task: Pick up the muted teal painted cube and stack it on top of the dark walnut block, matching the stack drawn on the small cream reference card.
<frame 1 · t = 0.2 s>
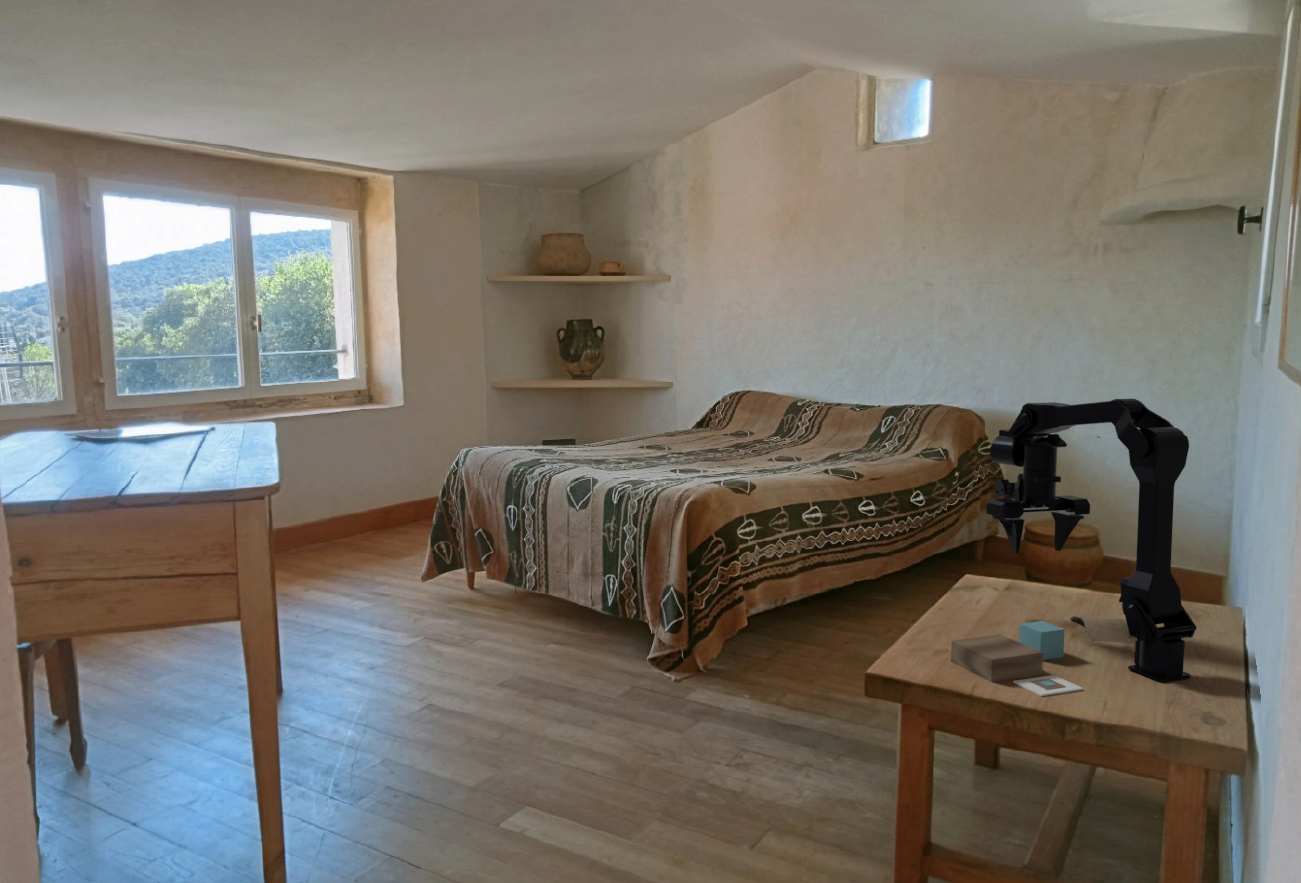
hand: (1036, 552, 172), 14 cm above the table, fingers open, 9 cm apart
reference card: (1047, 686, 143), on the table
teal cube: (1040, 654, 158), on the table
walnut block: (995, 670, 151), on the table
clay tablet: (1107, 635, 170), on the table
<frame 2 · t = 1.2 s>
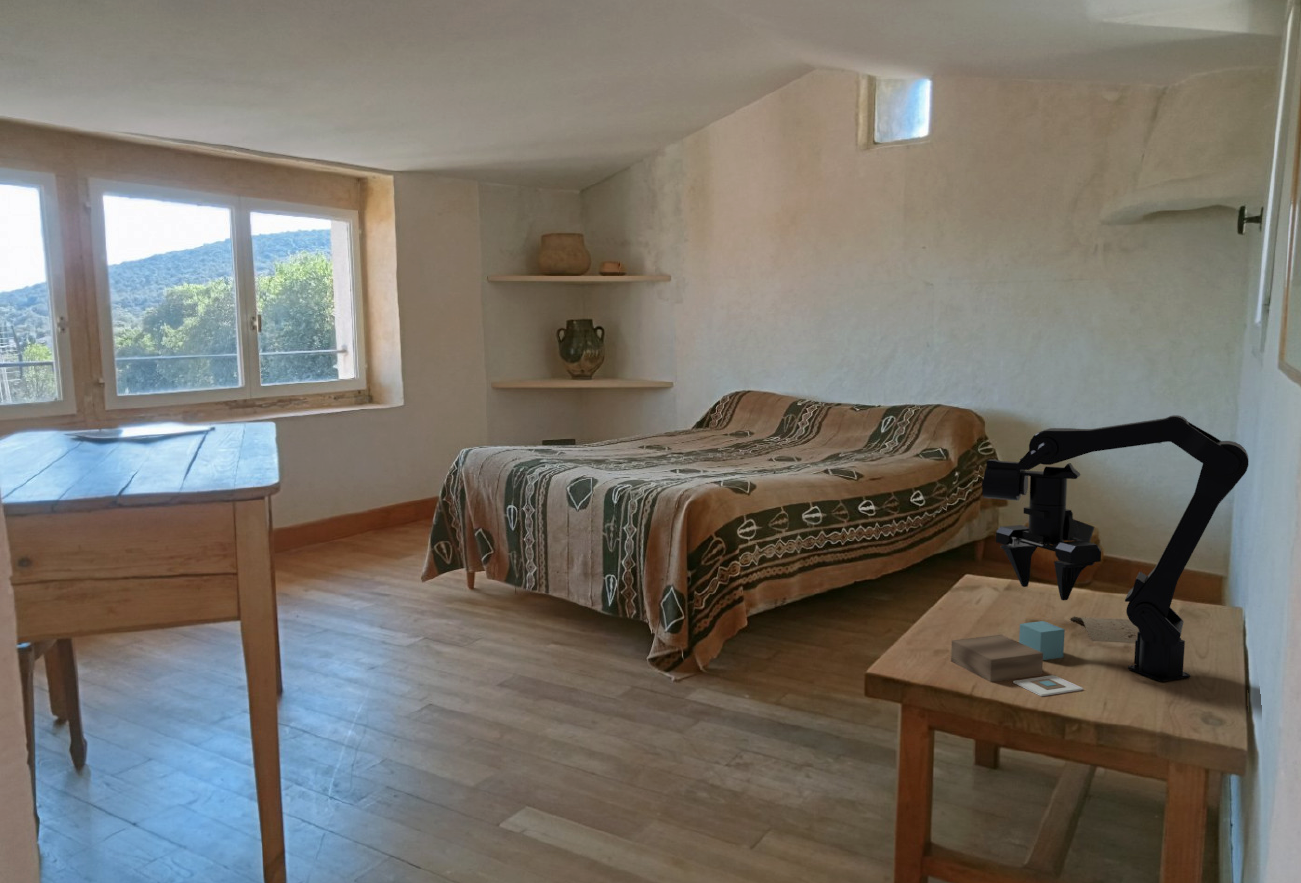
hand: (1044, 593, 156), 11 cm above the table, fingers open, 9 cm apart
nothing on the table moved.
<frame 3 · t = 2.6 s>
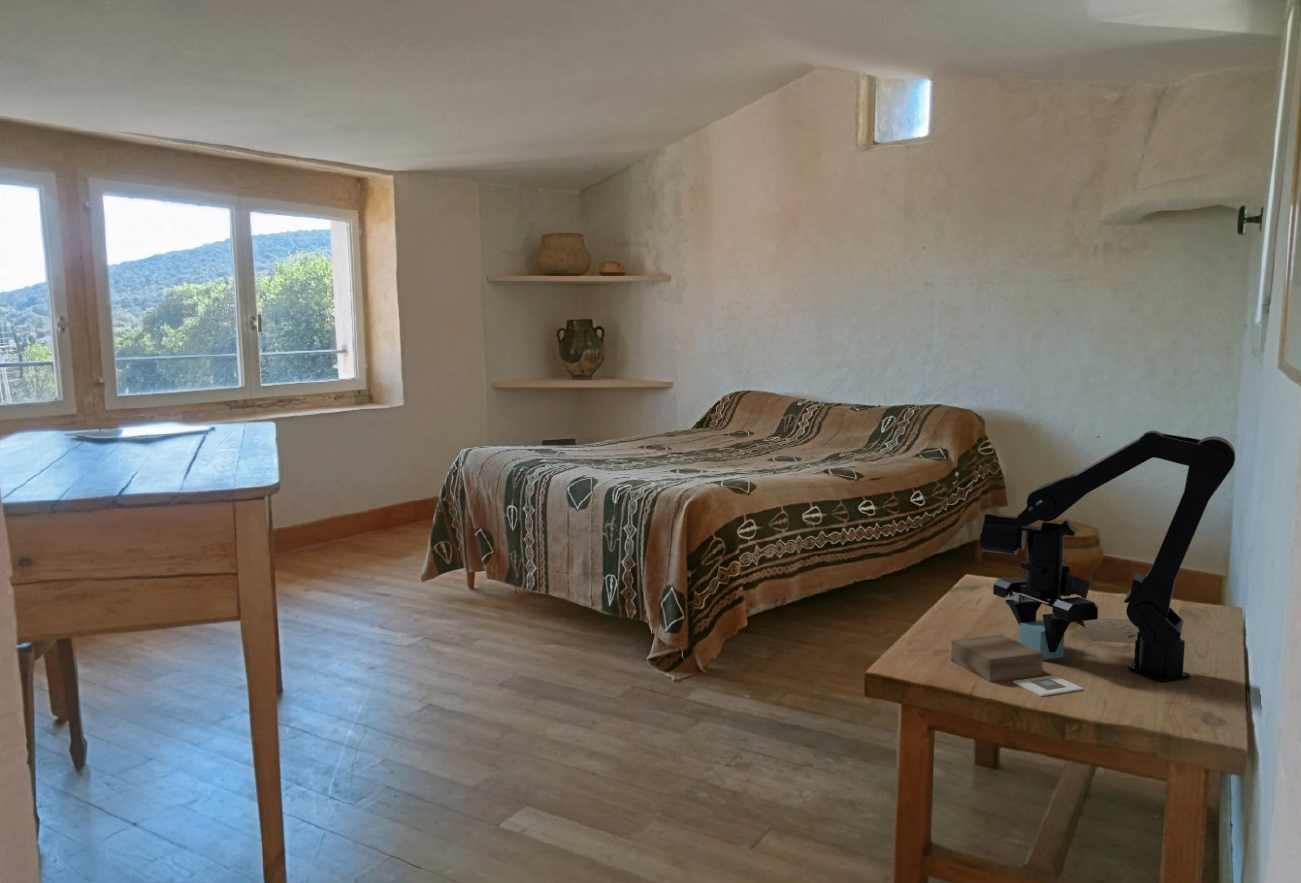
hand: (1041, 647, 157), 1 cm above the table, fingers closed on teal cube, 5 cm apart
teal cube: (1040, 654, 158), on the table, touching gripper
everything else where it was.
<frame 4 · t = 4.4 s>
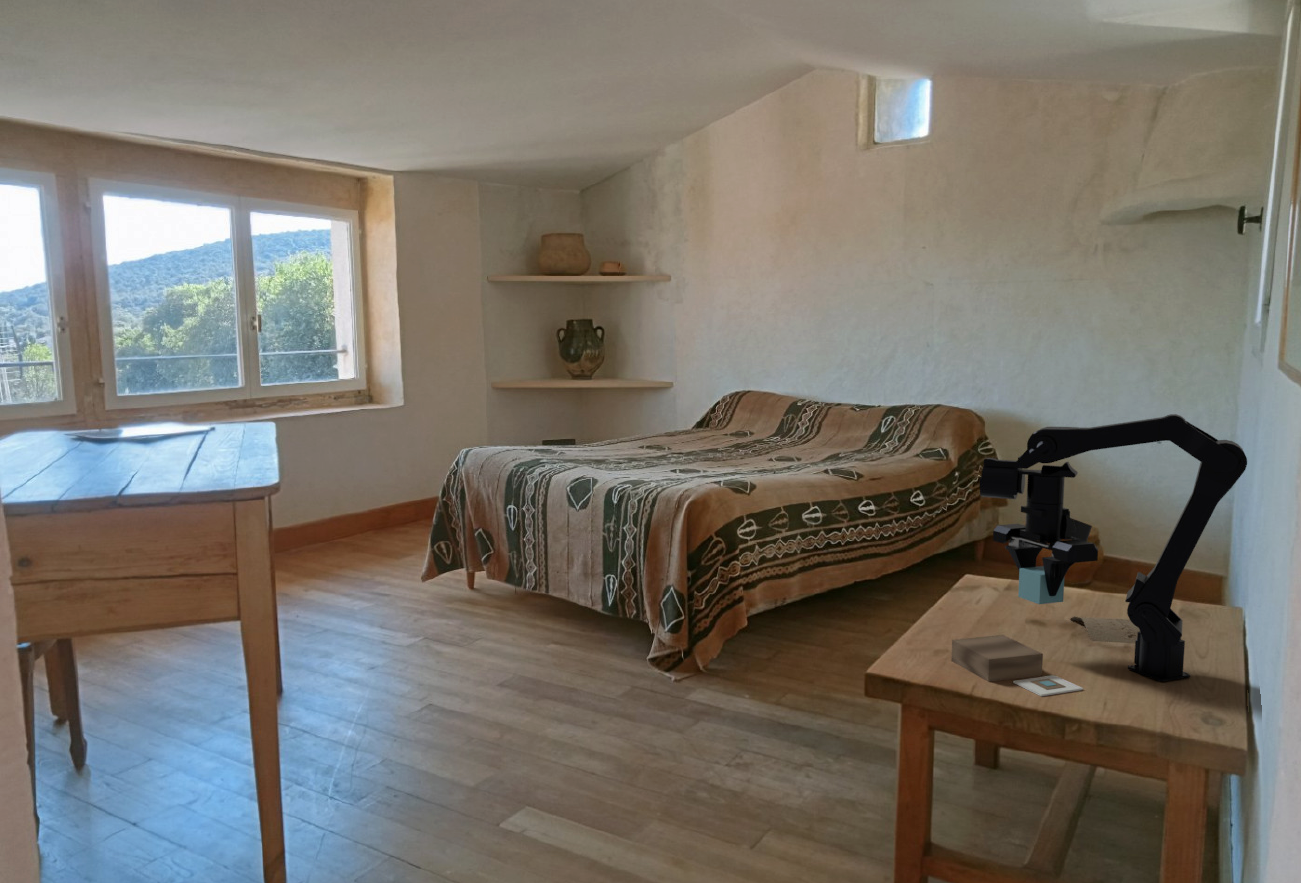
hand: (1040, 592, 156), 11 cm above the table, fingers closed on teal cube, 5 cm apart
teal cube: (1040, 599, 156), point 10 cm above the table, touching gripper
everything else where it was.
when the fingers open (6 cm above the table, at t = 6.5 s): teal cube drops 2 cm, resting on walnut block.
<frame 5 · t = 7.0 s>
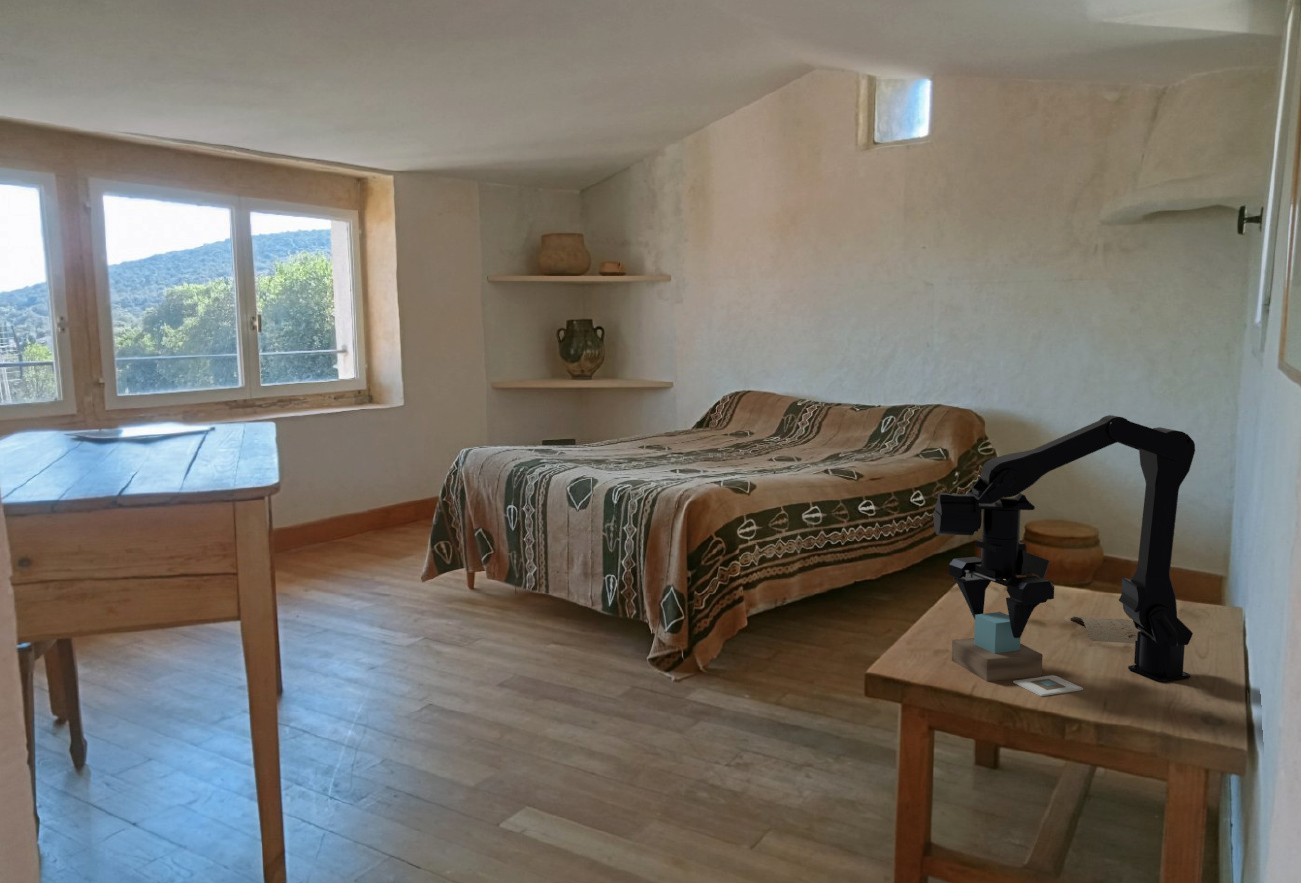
hand: (997, 629, 150), 6 cm above the table, fingers open, 9 cm apart
teal cube: (996, 647, 150), point 4 cm above the table, touching walnut block
walnut block: (995, 670, 151), on the table, touching teal cube
everything else where it was.
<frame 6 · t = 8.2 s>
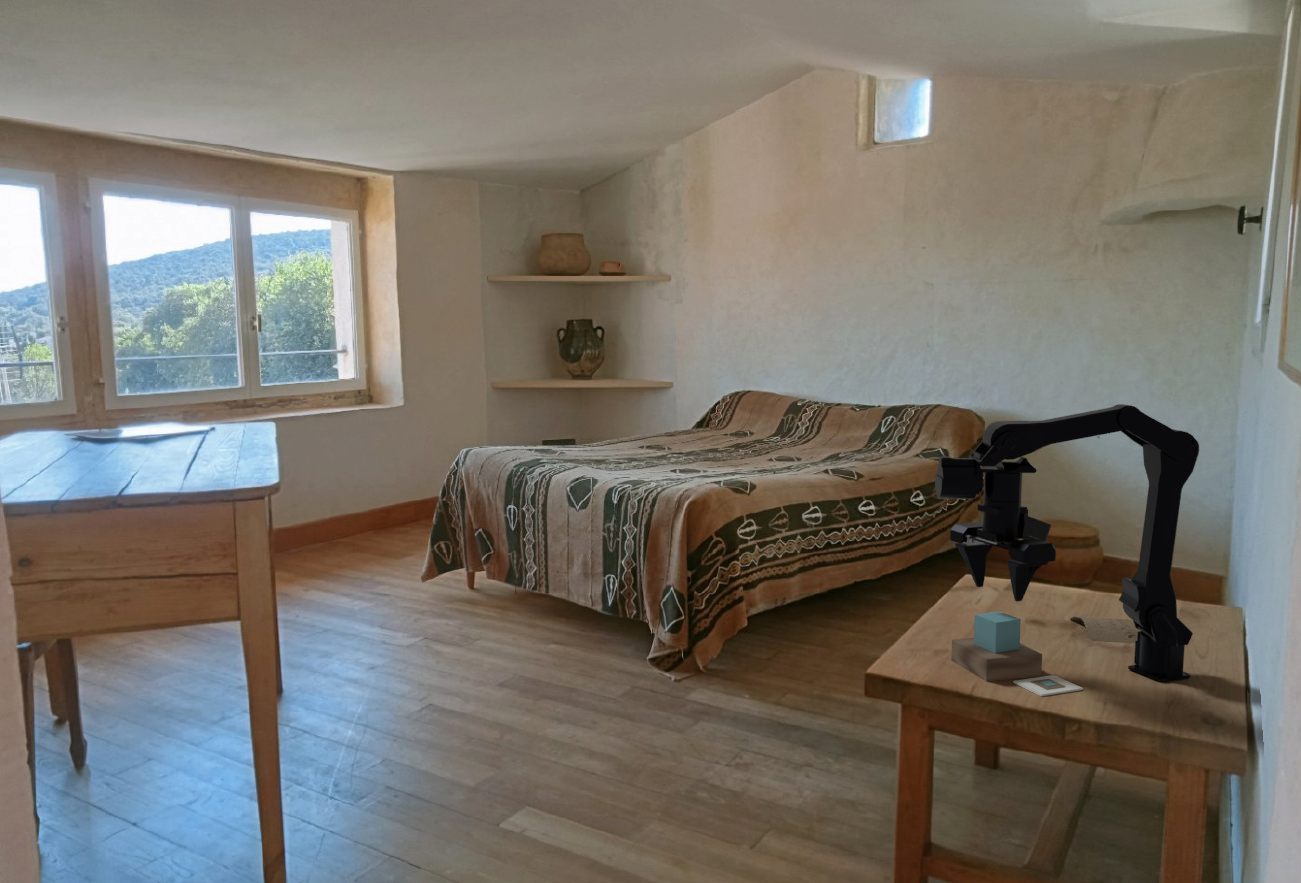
hand: (998, 593, 150), 12 cm above the table, fingers open, 9 cm apart
nothing on the table moved.
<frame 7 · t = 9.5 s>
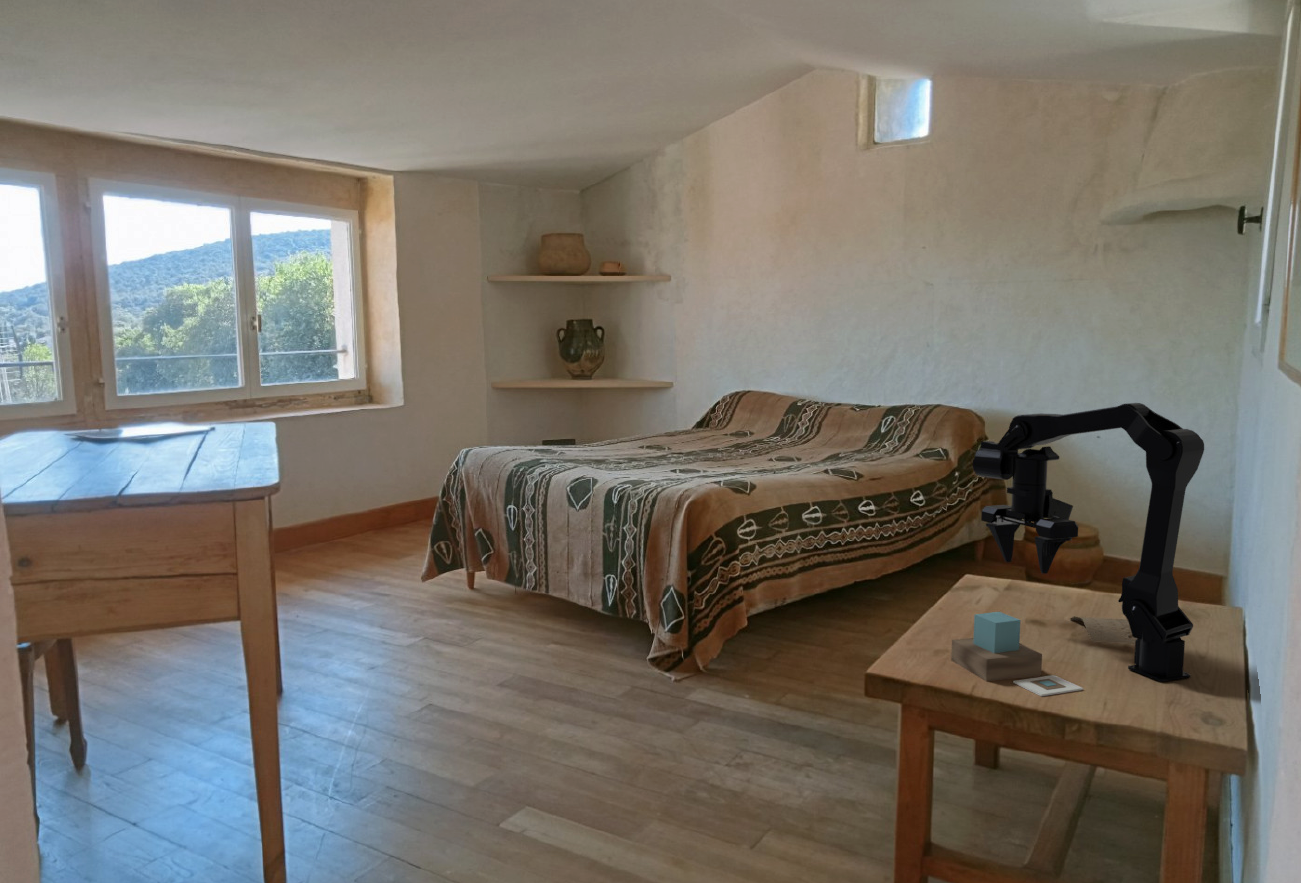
hand: (1025, 567, 167), 13 cm above the table, fingers open, 9 cm apart
nothing on the table moved.
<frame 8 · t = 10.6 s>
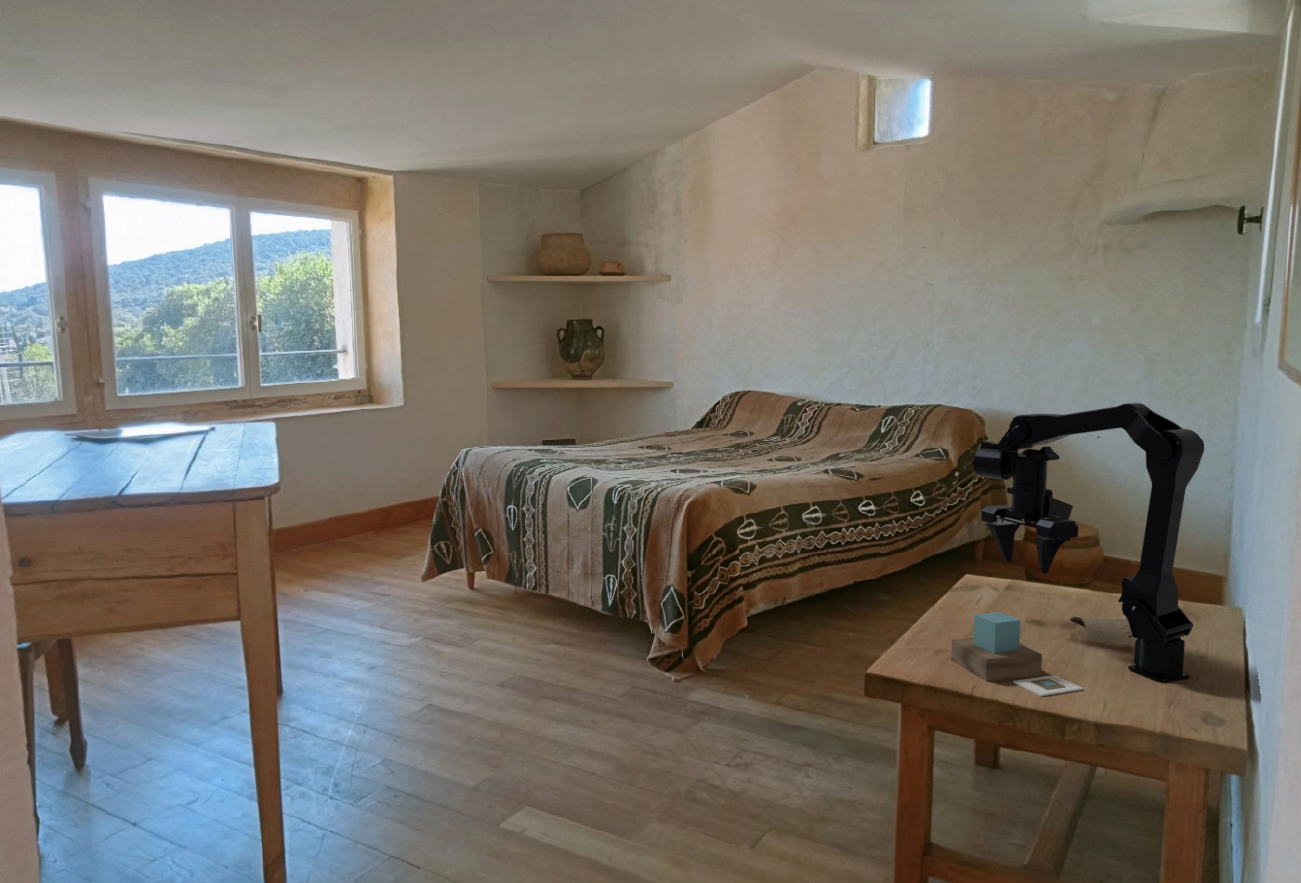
hand: (1025, 567, 167), 12 cm above the table, fingers open, 9 cm apart
nothing on the table moved.
at the end: teal cube 0.2 cm off-centre on the walnut block, point 4.0 cm above the walnut block's base; teal cube tilted 0°; the gripper is holding nothing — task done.
